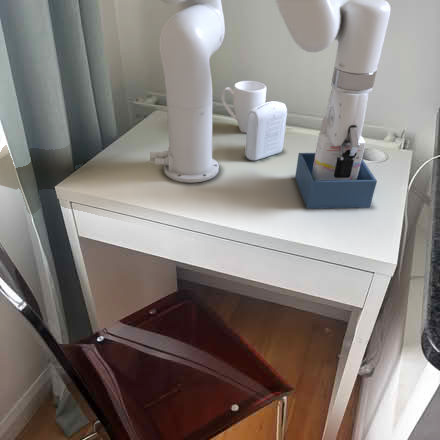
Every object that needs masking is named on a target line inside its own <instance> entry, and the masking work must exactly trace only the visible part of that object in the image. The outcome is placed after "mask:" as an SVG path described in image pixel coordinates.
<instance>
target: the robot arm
mask: <svg viewBox="0 0 440 440" xmlns="http://www.w3.org/2000/svg"><path fill="white" fill-rule="evenodd" d="M160 1H161V2H163V3H166V4H169V5H175V8H176V11H177V12H176V13H175V14H173V15H172V16H171V17H170V18H169V19H168V20H167V21H166V22H165V24H164V25H163V27H162V29H161V32H160V34H159V41H158V42H159V45H158V47H159V55H160V56H159V57H160V60H161V65H162V69H163V76H164V77H163V78H164V85H165V86H164V87H165V98H166V113H167V129H168V148H167V149H168V150H164V151H163V152H158V151H150V152H149V159H150V162H154V164H155V165H156V166H159V165H160V166H161V165H163V172H164V174H165V176H166V177H168V178H170V179H171V180H174V181H176V182H181V183H190V184H192V183H193V184H195V183H202V182H206V181H209V180H211V179H213V178H215V177H216V176H217V175H218V174H219V171H220V167H219V166H220V165H219V163H218V161H217V160H215V158H213V81H212V74H211V73H212V71H211V66H210V59H211V57H212V56H213V55H214V54H215V53H216V52H217V51H218V50H219V48H220V47H221V46H222V44H223V41H224V39H225V34H226V27H225V26H226V24H225V23H226V22H225V17H224V11H223V5H222V0H160ZM274 2H275V5H276V7H277V9H278V11H279V13H280V16H281V17H282V20H283V22H284V24H285V26H286V28H287V30H288V32H289V35H290V36H291V38H292V40H293V41H294V43H295V44H296V45H297V46H298V47H299V49H301V50H303V51H305V52H307V53H319V52H322V51H324V50H326V49H327V48H329V46H330V45H332V44H333V42H334V40H335V41H337V42H338V43H337V50H336V55H335V62H334V67H333V72H332V78H331V84H330V86H331V91H330V93H329V98H328V103H327V106H326V111H325V115H324V118H328V120H327V125H326V130H325V133H326V135H327V137H328V138H329V140H330V142H331V143H332V144H333V145H334V146H337V145H339V158H337V162H336V167H335V172H334V177H335V178H349V177H350V175H351V171H352V167H353V162H354V160H355V156H356V155H357V150H358V148H359V140H360V137H361V136H362V132H363V129H364V122H365V118H366V112H367V105H368V99H369V93H370V92H372V91H373V90H374V84H375V82H376V81H375V80H376V77H377V72H378V68H379V63H380V59H381V54H382V50H383V46H384V42H385V38H386V34H387V29H388V25H389V20H390V17H391V9H392V8H391V4H390V3H389V2H388V1H387V0H274ZM344 141H350V142H349V143H343V142H344ZM344 147H349V150H346V151H345V152H344Z"/></svg>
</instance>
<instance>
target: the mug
mask: <svg viewBox="0 0 440 440" xmlns="http://www.w3.org/2000/svg"><path fill="white" fill-rule="evenodd" d="M226 91H228V92H229V93H230V94H231V95H232V103H233V104H232V106H233V110H232V109H231V108H230V107H229V105H228V104H227V102H226ZM220 98H221V100H220V101H221V103H222V105H223V107H224V109H225V110H226V111H227V113H228V114H229V115H230V116H231V117H232V118H233V119H234V120H235V121H236V122H237V125H238V129H239V131H240V132H241V133H245V134H247V121H248V114H249V112H250V111H251V110H252V109H253V108H255V107H257V106H258V105H260V104H263V103H266V100H267V85H266V84H265V83H263V82H260V81H257V80H242V81H238V82H235V84H234V85H233V88H232V87H225V88H223V90H222V92H221V97H220ZM233 111H234V112H233Z"/></svg>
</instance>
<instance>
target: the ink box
mask: <svg viewBox="0 0 440 440" xmlns="http://www.w3.org/2000/svg"><path fill="white" fill-rule="evenodd" d="M327 120H328V118H325V117H324V118H322V120H321V126H320V131H319V132H318V136H317V142H316V148H315V152H314V153H315V158H314V164H313V170H312V175H311V176H312V178H313V180H314V181H331V180H357V176H358V172H359V168H360V164H361V160H362V159H363V156H364V152H365V148H366V144H367V143H366V140H365V139H364V137H363V136H362V135H361V137H360V140H359V148H358V150H357V155H356V156H355V160H354V162H353V167H352V171H351V175H350V177H349V178H335V177H334V172H335V167H336V162H337V158H339V145H337V146H334V145H333V144H332V143H331V142H330V140H329V138H328V137H327V135H326V133H325V130H326V125H327ZM349 142H350V141H344V142H343V143H349ZM346 150H349V147H344V152H345V151H346Z"/></svg>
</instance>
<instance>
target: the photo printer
mask: <svg viewBox="0 0 440 440" xmlns="http://www.w3.org/2000/svg"><path fill="white" fill-rule="evenodd" d="M287 115H288V109H287V106H286V104H285V103H284V102H281V101H277V100H276V101H275V100H274V101H267V102H266V101H265V103H263V104H260V105H258V106H257V107H255V108H253V109H252V110H251V111H250V112H249V114H248V121H247V133H246V137H245V140H246V141H245V153H244V154H245V156H246V159H248V160H250V161H257V160H261V159H264V158H268V157H270V156H273V155H276V154H279V153H282V151H283V150H284V143H285V142H284V141H285V132H286V125H287Z"/></svg>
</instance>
